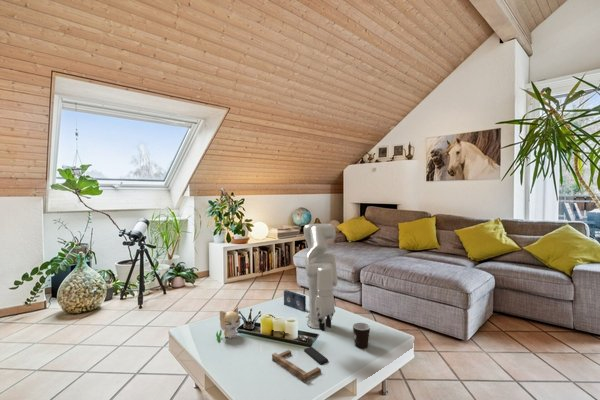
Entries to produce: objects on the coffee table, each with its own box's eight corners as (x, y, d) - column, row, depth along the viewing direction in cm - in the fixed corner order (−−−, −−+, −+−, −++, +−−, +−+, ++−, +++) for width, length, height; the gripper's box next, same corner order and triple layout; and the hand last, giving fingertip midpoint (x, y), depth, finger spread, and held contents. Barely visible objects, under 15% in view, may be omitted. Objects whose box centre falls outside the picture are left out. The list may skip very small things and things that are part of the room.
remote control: (303, 352, 153) (320, 366, 140) (303, 349, 153) (320, 362, 140) (311, 349, 155) (329, 362, 143) (311, 346, 155) (329, 359, 143)
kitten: (219, 344, 160) (219, 315, 159) (212, 336, 168) (212, 309, 168) (246, 336, 169) (245, 309, 168) (238, 329, 177) (237, 303, 176)
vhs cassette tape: (306, 310, 204) (305, 295, 203) (302, 311, 202) (302, 296, 201) (286, 303, 216) (286, 289, 216) (283, 304, 214) (283, 290, 214)
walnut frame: (272, 360, 144) (272, 354, 144) (288, 352, 151) (288, 346, 151) (303, 382, 128) (303, 374, 128) (320, 372, 135) (320, 365, 134)
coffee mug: (370, 350, 152) (370, 330, 152) (352, 349, 154) (352, 329, 154) (369, 339, 164) (369, 320, 163) (353, 338, 165) (353, 319, 165)
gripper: (330, 286, 160) (331, 321, 160) (307, 294, 149) (307, 331, 149) (341, 290, 154) (342, 326, 155) (318, 298, 143) (318, 337, 144)
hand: (325, 328), depth 152 cm, fingers open, 3 cm apart
